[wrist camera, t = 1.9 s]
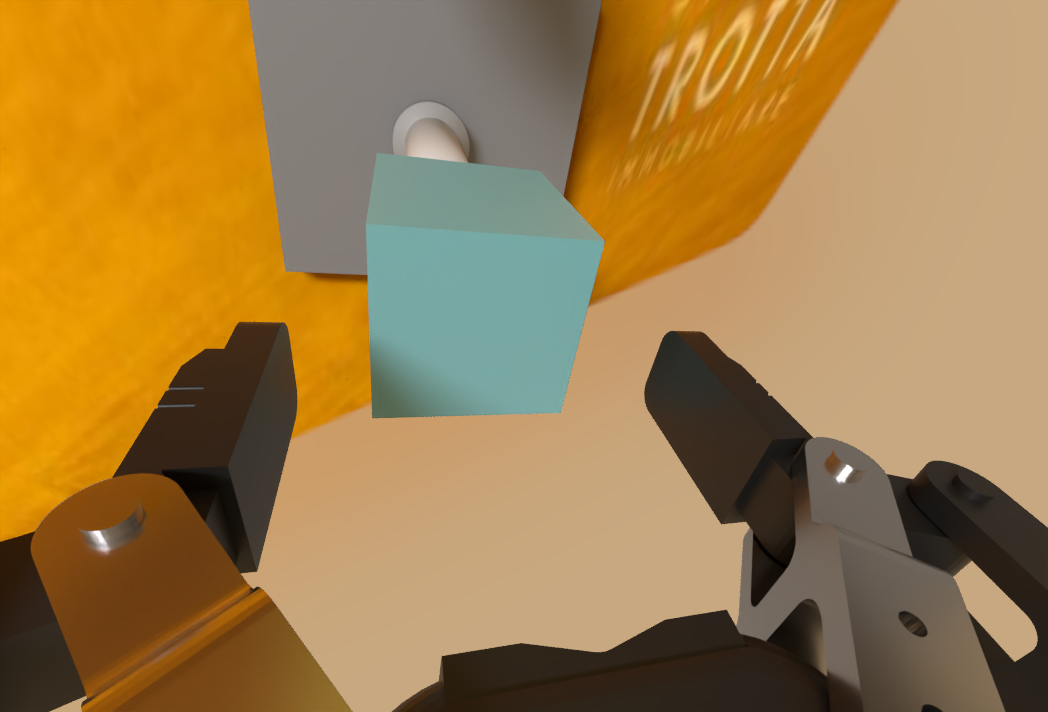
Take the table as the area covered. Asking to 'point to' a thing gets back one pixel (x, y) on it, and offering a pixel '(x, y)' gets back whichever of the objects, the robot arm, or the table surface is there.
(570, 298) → the teal cube
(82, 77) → the table surface
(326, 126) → the post stand
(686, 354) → the robot arm
